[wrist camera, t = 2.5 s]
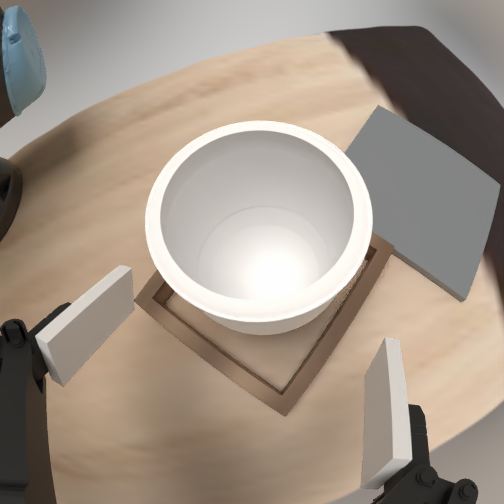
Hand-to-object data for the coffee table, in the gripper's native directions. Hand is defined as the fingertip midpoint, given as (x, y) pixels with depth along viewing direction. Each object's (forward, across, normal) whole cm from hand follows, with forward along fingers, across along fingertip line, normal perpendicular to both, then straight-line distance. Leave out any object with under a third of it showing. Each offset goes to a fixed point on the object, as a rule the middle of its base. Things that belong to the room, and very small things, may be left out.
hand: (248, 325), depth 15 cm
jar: (+12, -1, -5) cm, 13 cm away
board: (+21, +12, +4) cm, 25 cm away
